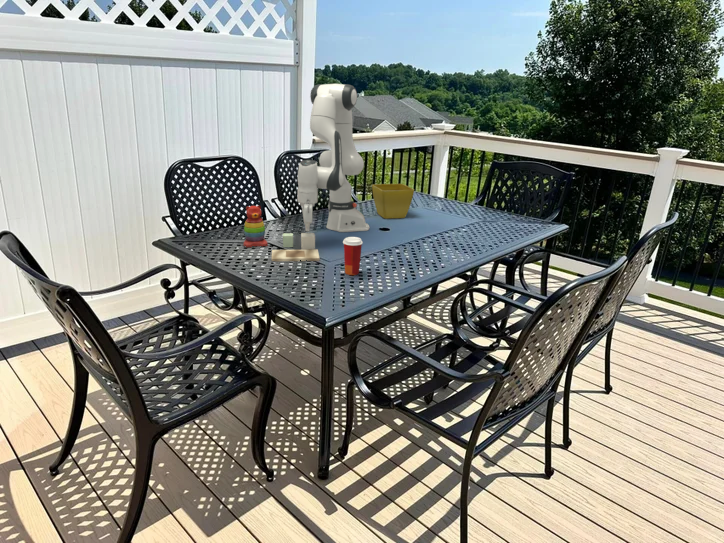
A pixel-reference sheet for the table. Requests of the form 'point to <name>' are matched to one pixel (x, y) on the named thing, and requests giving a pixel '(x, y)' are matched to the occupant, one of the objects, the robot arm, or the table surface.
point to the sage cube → (287, 239)
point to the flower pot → (392, 199)
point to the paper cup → (352, 255)
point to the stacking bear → (254, 228)
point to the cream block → (307, 240)
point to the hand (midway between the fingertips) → (307, 228)
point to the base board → (295, 255)
